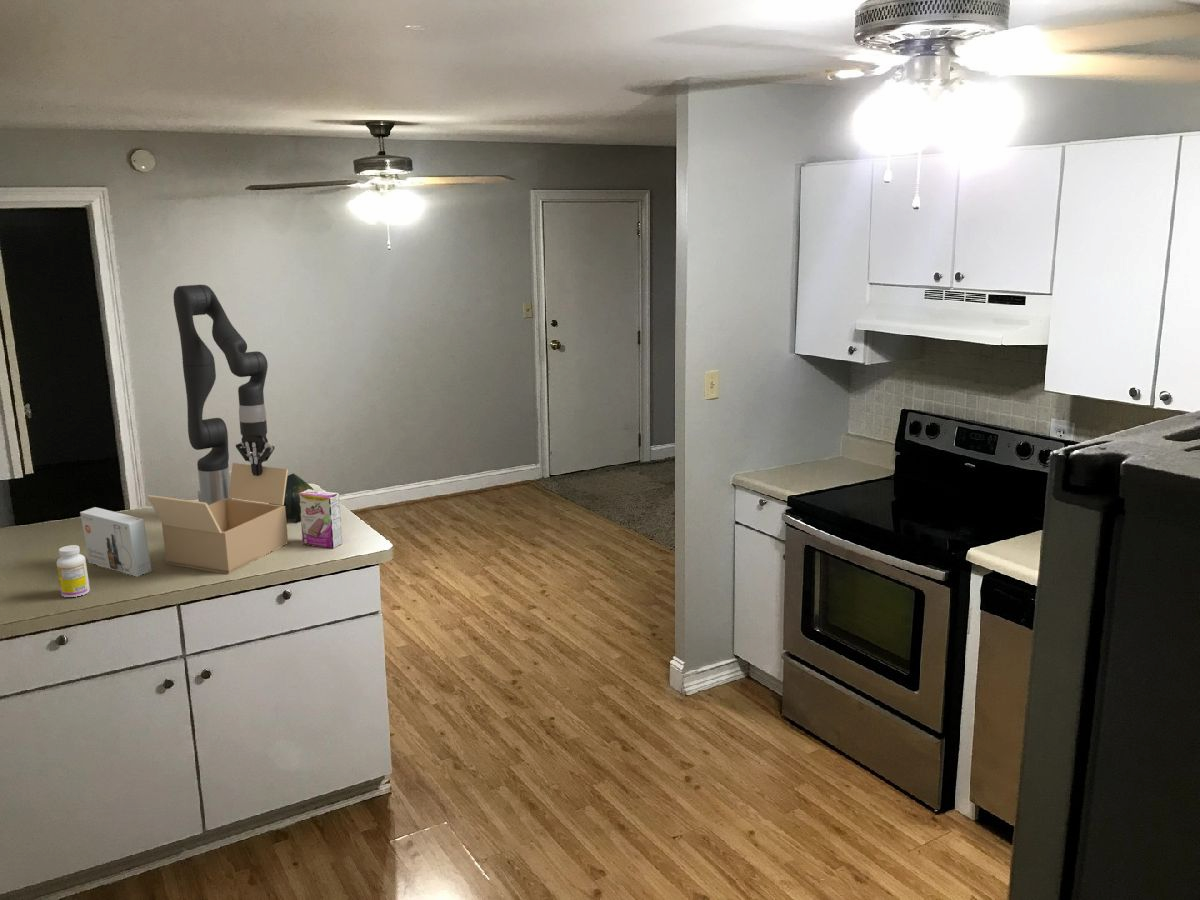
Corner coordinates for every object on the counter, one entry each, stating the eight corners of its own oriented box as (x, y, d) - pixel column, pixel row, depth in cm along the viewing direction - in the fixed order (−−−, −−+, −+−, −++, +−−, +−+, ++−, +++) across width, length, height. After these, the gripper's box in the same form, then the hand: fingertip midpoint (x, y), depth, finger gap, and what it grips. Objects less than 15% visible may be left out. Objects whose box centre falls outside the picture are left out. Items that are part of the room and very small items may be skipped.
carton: (166, 563, 269) (161, 523, 266) (229, 535, 292) (225, 498, 289) (229, 574, 262) (224, 533, 259) (288, 543, 285) (285, 506, 282)
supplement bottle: (68, 589, 251) (61, 543, 248) (94, 588, 251) (88, 543, 248) (56, 599, 244) (49, 552, 241) (83, 598, 245) (76, 552, 242)
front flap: (164, 523, 265) (163, 525, 265) (148, 494, 259) (146, 496, 258) (221, 532, 259) (220, 533, 258) (206, 502, 252) (205, 504, 252)
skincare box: (86, 564, 268) (78, 511, 264) (103, 558, 273) (96, 506, 269) (135, 578, 259) (128, 523, 254) (152, 571, 263) (146, 517, 259)
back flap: (232, 462, 289) (233, 462, 290) (228, 497, 289) (229, 497, 289) (286, 469, 283) (288, 469, 283) (282, 505, 282) (283, 505, 283)
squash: (284, 513, 295) (305, 471, 301) (252, 507, 303) (274, 466, 309) (313, 532, 306) (333, 492, 312) (282, 526, 314) (302, 486, 320)
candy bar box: (301, 545, 284) (297, 493, 280) (311, 539, 289) (307, 488, 284) (333, 549, 280) (329, 497, 276) (343, 544, 285) (339, 492, 281)
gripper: (226, 419, 280) (230, 476, 284) (262, 422, 275) (267, 480, 279) (243, 415, 287) (247, 470, 290) (279, 418, 282) (283, 474, 286)
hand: (257, 475), depth 285 cm, fingers closed
